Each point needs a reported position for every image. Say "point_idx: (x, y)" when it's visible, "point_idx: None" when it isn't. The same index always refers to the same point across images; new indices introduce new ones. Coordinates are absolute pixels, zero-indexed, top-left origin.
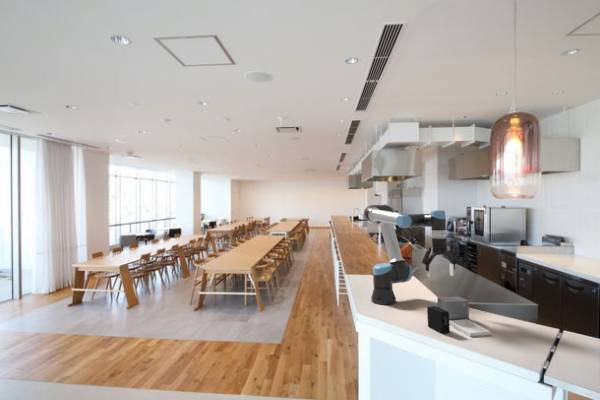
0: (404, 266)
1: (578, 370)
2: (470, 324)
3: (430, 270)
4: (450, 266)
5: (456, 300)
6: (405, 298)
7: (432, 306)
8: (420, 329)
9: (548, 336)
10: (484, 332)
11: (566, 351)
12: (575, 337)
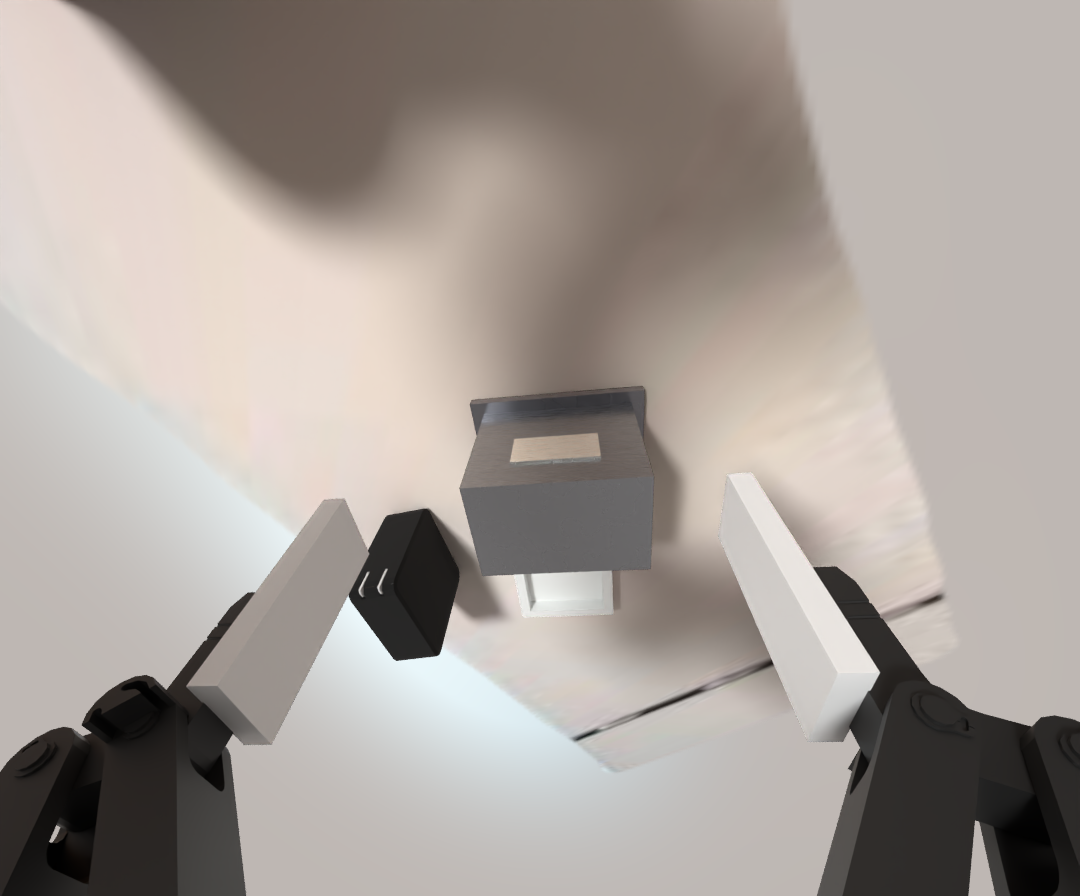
0: None
1: (665, 740)
2: None
3: (316, 644)
4: (794, 630)
5: (567, 560)
6: None
7: (376, 598)
8: None
9: None
10: (587, 612)
11: (747, 691)
12: (911, 638)
